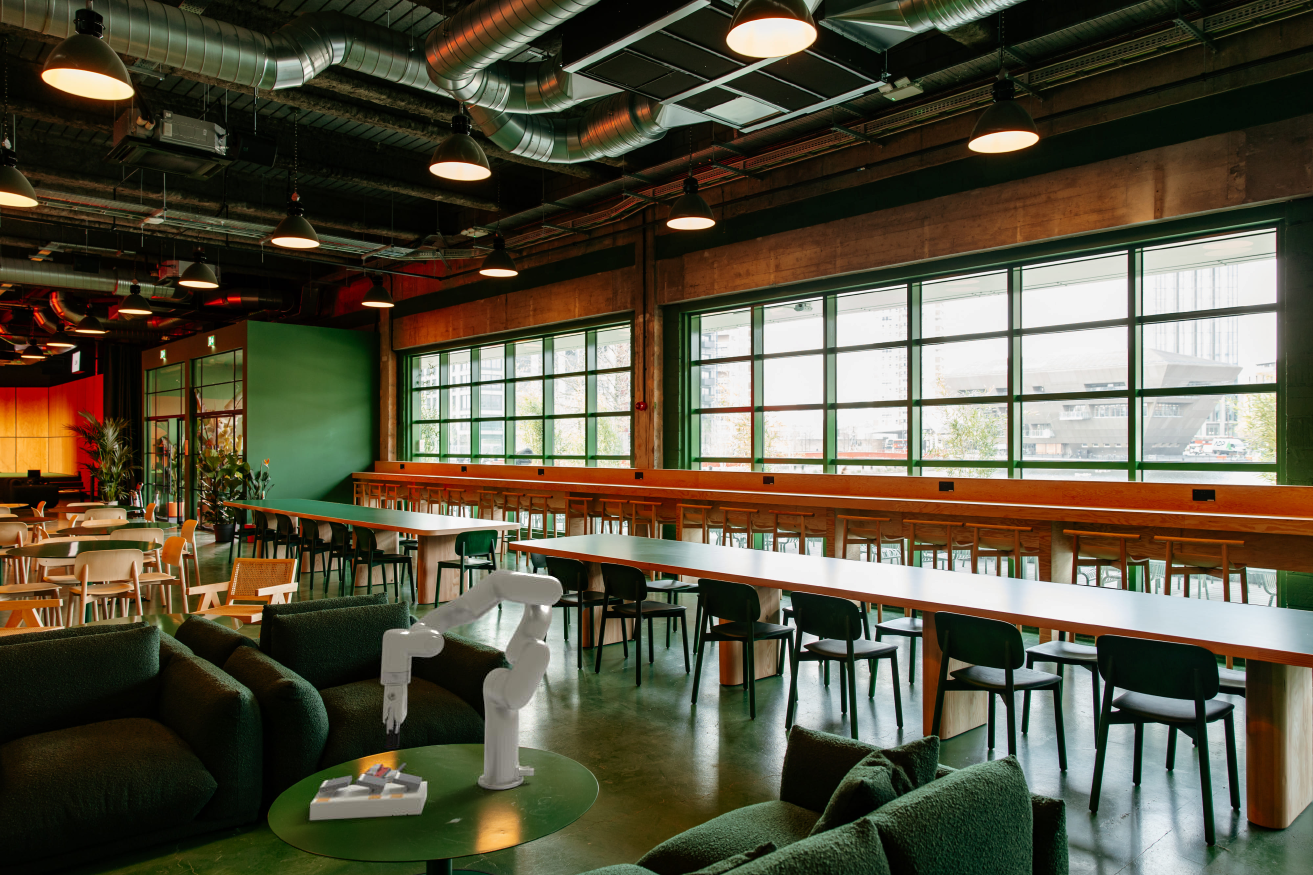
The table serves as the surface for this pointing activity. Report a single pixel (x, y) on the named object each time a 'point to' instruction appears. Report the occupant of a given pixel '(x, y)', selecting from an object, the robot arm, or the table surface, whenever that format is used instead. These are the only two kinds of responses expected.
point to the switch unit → (368, 802)
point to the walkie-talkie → (383, 772)
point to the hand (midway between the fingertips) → (392, 747)
